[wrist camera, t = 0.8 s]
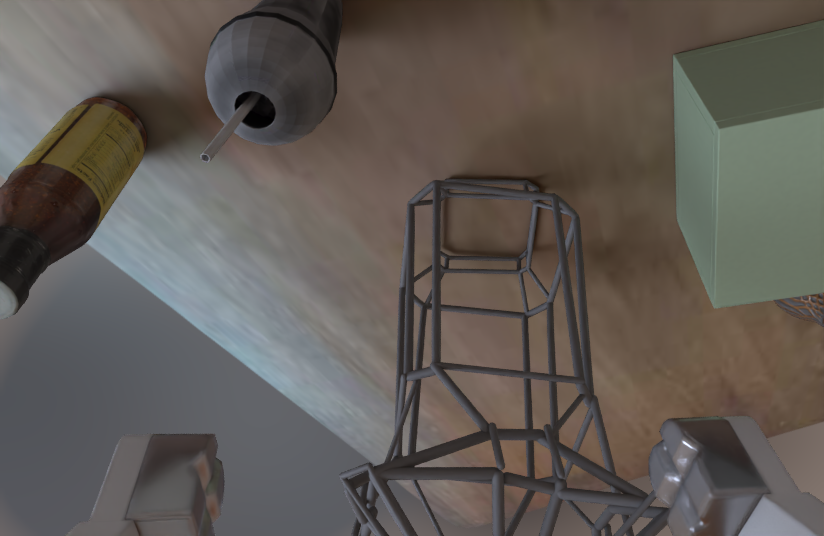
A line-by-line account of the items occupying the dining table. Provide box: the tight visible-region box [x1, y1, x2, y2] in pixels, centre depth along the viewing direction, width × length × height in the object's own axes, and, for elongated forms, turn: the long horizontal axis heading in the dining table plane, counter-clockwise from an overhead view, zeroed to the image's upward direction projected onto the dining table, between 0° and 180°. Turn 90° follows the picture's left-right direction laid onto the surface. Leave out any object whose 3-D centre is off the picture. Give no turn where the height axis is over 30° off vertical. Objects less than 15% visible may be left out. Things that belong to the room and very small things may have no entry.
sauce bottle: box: [0, 97, 147, 319], centre depth 44 cm, size 6×6×20 cm
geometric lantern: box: [340, 179, 669, 536], centre depth 42 cm, size 16×16×35 cm
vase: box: [773, 293, 824, 327], centre depth 52 cm, size 7×7×9 cm
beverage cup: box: [200, 0, 342, 163], centre depth 37 cm, size 7×7×20 cm
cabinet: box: [673, 20, 824, 308], centre depth 44 cm, size 15×15×11 cm
